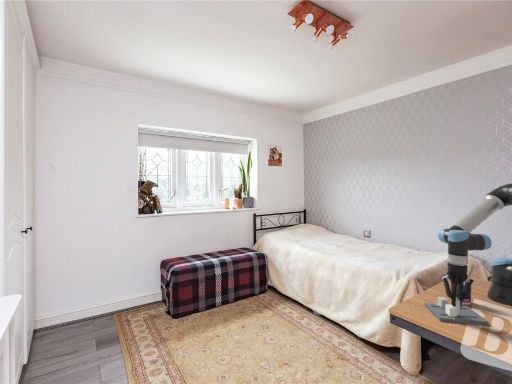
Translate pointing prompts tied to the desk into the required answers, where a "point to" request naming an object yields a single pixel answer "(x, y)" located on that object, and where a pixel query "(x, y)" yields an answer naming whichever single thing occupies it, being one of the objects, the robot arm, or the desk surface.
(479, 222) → the robot arm
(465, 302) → the pill bottle
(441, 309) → the panel
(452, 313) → the fader ivory
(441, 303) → the fader grey
